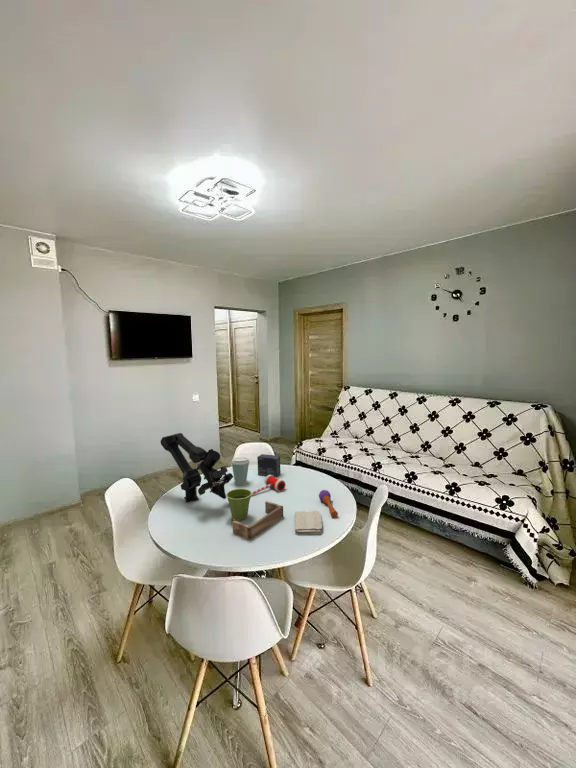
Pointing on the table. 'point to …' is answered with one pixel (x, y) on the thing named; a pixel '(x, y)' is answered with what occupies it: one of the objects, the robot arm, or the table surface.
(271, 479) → the toy hammer
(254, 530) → the wooden frame
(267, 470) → the small box
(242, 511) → the plant pot
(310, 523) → the washcloth
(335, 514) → the kendama
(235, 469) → the disposable coffee cup
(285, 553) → the table surface
